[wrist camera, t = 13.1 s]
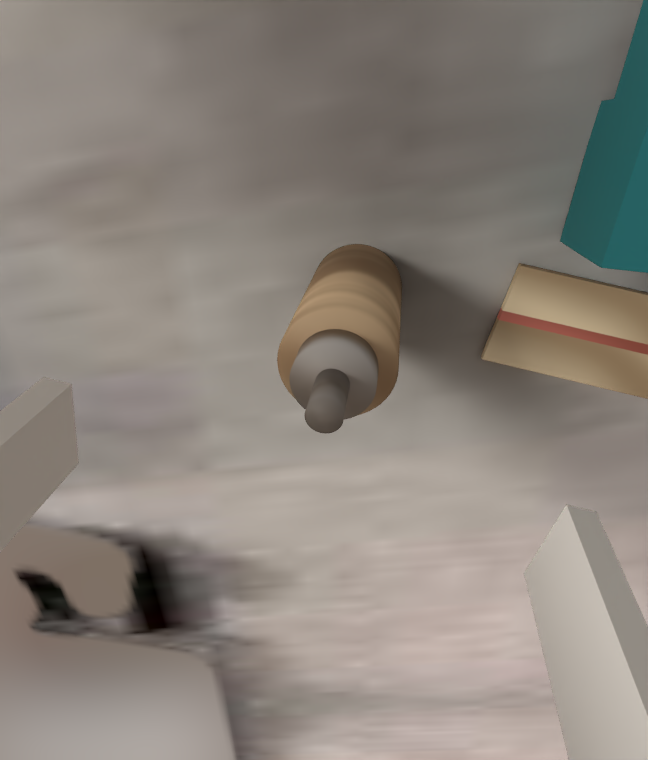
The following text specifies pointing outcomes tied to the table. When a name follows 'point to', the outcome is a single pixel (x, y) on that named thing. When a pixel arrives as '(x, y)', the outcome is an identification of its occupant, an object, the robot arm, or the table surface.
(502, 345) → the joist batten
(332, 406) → the awl
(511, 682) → the table surface
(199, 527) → the table surface
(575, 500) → the table surface
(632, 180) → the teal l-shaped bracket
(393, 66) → the table surface
